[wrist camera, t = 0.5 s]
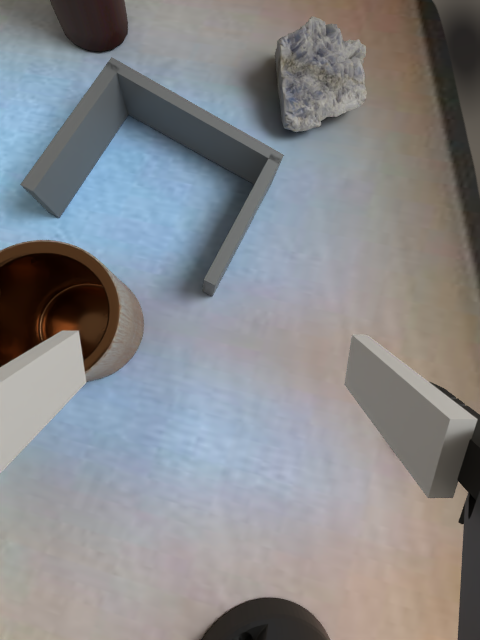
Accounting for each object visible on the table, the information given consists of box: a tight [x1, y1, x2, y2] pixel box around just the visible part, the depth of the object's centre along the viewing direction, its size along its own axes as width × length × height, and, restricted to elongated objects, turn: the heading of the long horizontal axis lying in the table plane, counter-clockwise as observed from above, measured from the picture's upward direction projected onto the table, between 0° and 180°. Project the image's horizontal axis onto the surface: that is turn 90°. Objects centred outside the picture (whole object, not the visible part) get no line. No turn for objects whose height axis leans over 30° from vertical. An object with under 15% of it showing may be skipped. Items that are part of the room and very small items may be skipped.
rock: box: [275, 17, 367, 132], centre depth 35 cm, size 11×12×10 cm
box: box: [20, 57, 284, 296], centre depth 30 cm, size 16×19×5 cm
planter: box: [0, 240, 144, 382], centre depth 25 cm, size 11×11×10 cm
